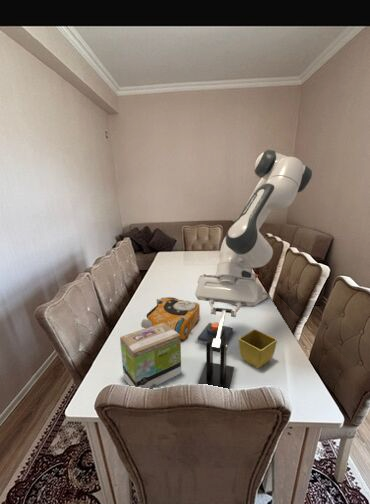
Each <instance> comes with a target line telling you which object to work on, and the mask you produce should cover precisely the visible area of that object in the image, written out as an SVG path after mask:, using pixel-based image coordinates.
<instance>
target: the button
mask: <svg viewBox="0 0 370 504" xmlns="http://www.w3.org/2000/svg"><path fill="white" fill-rule="evenodd" d="M211 323H212V324H211V330H213V331H218V327H219V323H220V322H211Z"/></svg>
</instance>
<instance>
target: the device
mask: <svg viewBox="0 0 370 504" xmlns="http://www.w3.org/2000/svg"><path fill="white" fill-rule="evenodd" d="M200 312H201V307H200V304H199V303H198V302H195V301H191V300H184V299H178V298H176V297H171V296H169V297H161V298H157V299H156V305H155V306H154V307H153V308H151V310H150V311H148V312H147V313H146V318H147V319H144V318H143V319H142V320H141V322H140V326H141V329H145V328H148V327H151V326H154V325H157V324H160V323H163V322H164V323H165V324H167V325H168V326H169V327H171V328H172V329H173V330H175V331H176V332H177V333H179V334H180V337H181V340H183V341H184V340H185V339H187V337H188V336H189V334H190V333H191V331H192V329H193V328H194V327H195V326H196V323H197V322H198V321H199V319H200V317H201V315H200V314H201V313H200Z"/></svg>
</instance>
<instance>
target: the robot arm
mask: <svg viewBox="0 0 370 504" xmlns="http://www.w3.org/2000/svg"><path fill="white" fill-rule="evenodd" d="M253 171H254V174H255V175H256V176H257V177H258V178H260V180H259V182H257V184H256V186H255V188H254V190H253V191H252V192H251V195H250V196H249V198H248V200H247V202H246V205H245V206H244V207H243V209H242V210H241V212H240V214H239V215H238V217H237V218H236V220H235V221H234V222H233V223H232V224H231V225H230V227H229V228H228V230H227V232H226V234H225V237H223V241H222V242H221V246H220V250H219V255H218V256H219V257H218V258H219V262H218V264H217V267H216V272H215V274H206V273H203V274H202V275H199V276H198V279H197V286H196V289H195V292H194V295H195V298H196V299H197V300H198V301H203V302H208V303H209V306H210V314H211V315H217V311H216V308H217V307H214V305H215V303H222V304H223V303H224V304H230V305H235V306H236V307H235V308H234V309H232V310H231V313H230V317H231V318H237V313H238V312H239V311H240V310H241V308H242V306H249V307H256V306H257V305H258V304H259V303H261V302H263V301H265V300H266V299H268V295H267V294H265V292H264V289H263V286H262V284H260V283H259V282H257V278H259V275H258V273H254V272H253V269H258V268H264V266H266V265H268V264H269V263H270V262H271V260H272V258H273V256H274V248H273V247H272V245H271V244H270V243H269V242H268V240H267V239H266V237H265V236H264V235H263V234H262V233H261V232H260V229H261V228H262V225H263V224H264V223H265V221H266V220H267V218H268V216H269V215H270V214H271V212H272V211H280V210H281V211H282V210H285V209H287V208H288V207H290V206H292V204H293V202H294V201H295V199H296V197H297V194H298V193H301V192H303V191H304V190H305V189H306V188H307V187H308V186H309V184H310V182H311V180H312V177H313V170H312V168H310V167H309V166H308V165H306V164H305V165H304V164H303V162H302V161H301V160H300V159H299V158H297V157H295V156H287V155H285V154H283V153H279V152H276V150H272V149H266V150H264V151H263V152H262V153H260V155H259V156H258V157H257V158H256V161H255V164H254V169H253Z"/></svg>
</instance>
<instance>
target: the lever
mask: <svg viewBox="0 0 370 504" xmlns="http://www.w3.org/2000/svg"><path fill="white" fill-rule="evenodd" d="M215 308H216V313H221V314H220V318H219V322H218V323H219V327H218V332H217V336H216V339H215V338H214V339H213V343H212V351H213V353H214V352H215V353H221V339H220V338H221V333H222V328H223V326H224V325H225V324H224V323H225V319H226V314H231V310H233V309H231V308H222V307H215Z"/></svg>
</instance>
